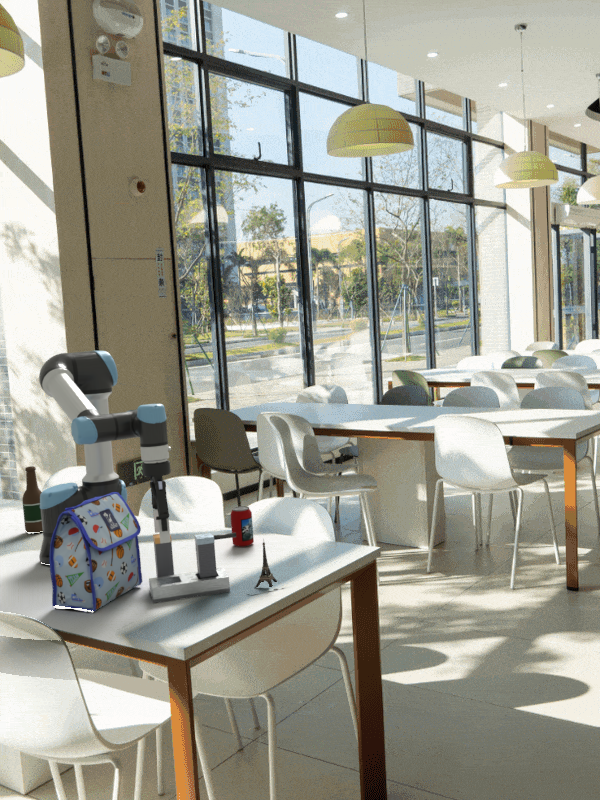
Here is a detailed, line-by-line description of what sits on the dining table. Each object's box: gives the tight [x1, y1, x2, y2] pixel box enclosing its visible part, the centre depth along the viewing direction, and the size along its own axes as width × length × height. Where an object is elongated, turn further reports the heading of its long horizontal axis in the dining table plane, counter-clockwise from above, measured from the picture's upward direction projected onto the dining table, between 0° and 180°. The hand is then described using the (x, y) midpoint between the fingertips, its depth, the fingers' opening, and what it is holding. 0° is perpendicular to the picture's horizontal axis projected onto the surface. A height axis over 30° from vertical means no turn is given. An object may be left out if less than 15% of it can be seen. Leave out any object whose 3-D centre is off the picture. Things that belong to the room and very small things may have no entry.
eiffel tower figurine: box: [255, 538, 278, 587], centre depth 220 cm, size 15×10×13 cm
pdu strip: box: [148, 532, 236, 604], centre depth 219 cm, size 9×24×15 cm, turn 106°
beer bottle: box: [22, 466, 43, 532], centre depth 300 cm, size 8×8×24 cm
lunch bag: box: [49, 492, 143, 612], centre depth 218 cm, size 23×17×27 cm
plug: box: [152, 533, 175, 577], centre depth 227 cm, size 4×4×14 cm
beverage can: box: [230, 505, 254, 548], centre depth 263 cm, size 7×7×12 cm
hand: (162, 537), depth 227 cm, fingers open, 13 cm apart
